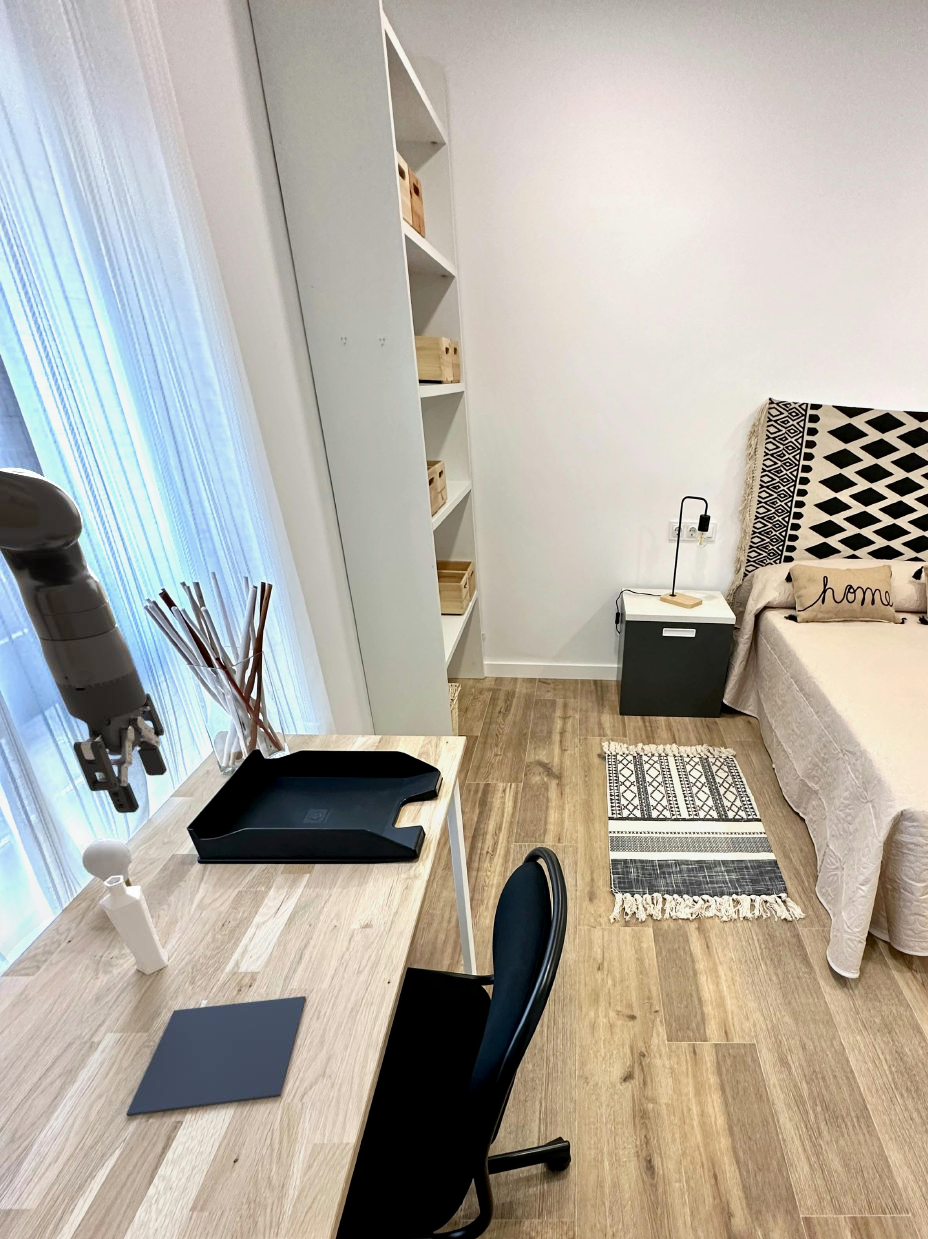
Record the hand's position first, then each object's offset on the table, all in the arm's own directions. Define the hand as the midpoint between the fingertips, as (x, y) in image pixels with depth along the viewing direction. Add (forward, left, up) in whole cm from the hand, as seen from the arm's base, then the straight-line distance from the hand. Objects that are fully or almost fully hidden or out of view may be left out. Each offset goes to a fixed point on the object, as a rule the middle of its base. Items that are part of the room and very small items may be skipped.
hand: (143, 791), depth 81 cm
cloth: (+9, -20, -25) cm, 34 cm away
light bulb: (-15, +12, -25) cm, 32 cm away
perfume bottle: (-5, -4, -25) cm, 26 cm away
